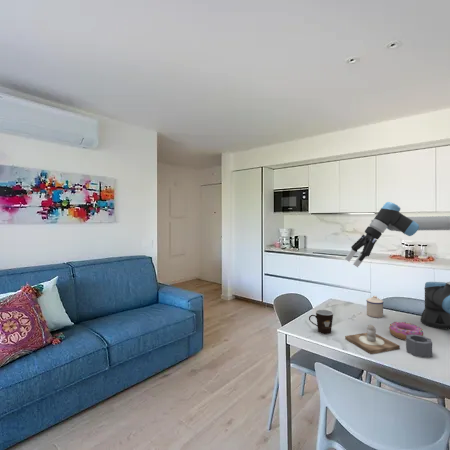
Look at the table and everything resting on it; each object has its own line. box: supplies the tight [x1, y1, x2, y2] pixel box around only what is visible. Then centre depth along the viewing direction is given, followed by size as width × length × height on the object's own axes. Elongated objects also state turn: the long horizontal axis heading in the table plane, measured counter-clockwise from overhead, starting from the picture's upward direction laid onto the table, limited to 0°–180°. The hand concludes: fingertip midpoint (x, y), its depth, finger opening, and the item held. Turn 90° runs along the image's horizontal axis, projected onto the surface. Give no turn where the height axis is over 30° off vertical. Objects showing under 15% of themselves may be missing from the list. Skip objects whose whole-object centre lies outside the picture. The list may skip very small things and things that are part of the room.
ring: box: [405, 334, 433, 359], centre depth 124 cm, size 9×9×6 cm
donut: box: [389, 321, 424, 341], centre depth 141 cm, size 14×14×5 cm
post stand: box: [344, 324, 401, 355], centre depth 133 cm, size 16×16×9 cm
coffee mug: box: [308, 309, 334, 335], centre depth 148 cm, size 12×9×10 cm
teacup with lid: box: [365, 295, 385, 319], centre depth 171 cm, size 12×9×12 cm
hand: (350, 262), depth 150 cm, fingers open, 13 cm apart
